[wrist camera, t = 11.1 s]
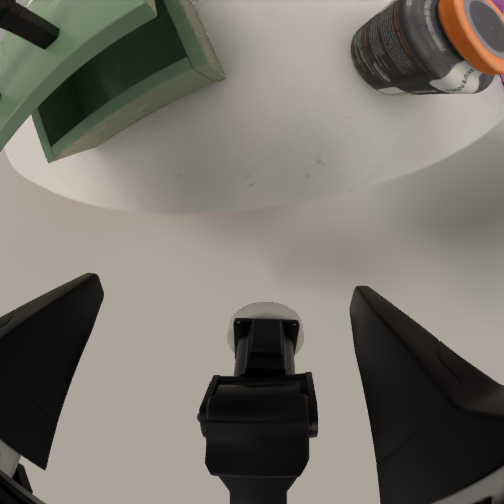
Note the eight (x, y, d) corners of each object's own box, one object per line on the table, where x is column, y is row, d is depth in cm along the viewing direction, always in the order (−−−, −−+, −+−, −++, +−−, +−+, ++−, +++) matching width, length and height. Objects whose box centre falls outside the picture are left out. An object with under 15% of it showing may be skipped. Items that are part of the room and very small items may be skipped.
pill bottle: (409, 110, 15) (524, 127, 5) (338, 72, 15) (423, 31, 5) (427, 50, 12) (533, 32, 2) (360, 11, 12) (438, -56, 2)
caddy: (226, 78, 15) (208, 62, 10) (94, 147, 18) (48, 163, 13) (171, -38, 10) (144, -70, 5) (58, 36, 12) (14, 30, 7)
